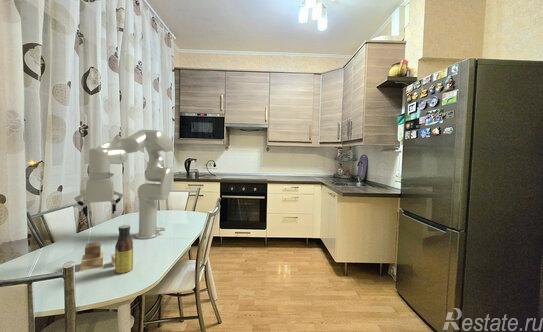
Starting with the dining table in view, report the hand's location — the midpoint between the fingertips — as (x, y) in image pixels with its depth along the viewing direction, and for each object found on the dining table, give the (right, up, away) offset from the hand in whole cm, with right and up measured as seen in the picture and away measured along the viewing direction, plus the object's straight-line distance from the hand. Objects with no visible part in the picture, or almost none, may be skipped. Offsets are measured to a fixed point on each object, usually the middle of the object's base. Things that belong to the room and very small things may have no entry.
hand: (100, 214), depth 103 cm
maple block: (+9, -21, -2) cm, 23 cm away
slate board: (+2, -22, -4) cm, 22 cm away
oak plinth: (0, -21, -5) cm, 21 cm away
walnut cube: (+1, -17, -5) cm, 18 cm away
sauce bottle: (+16, -23, -8) cm, 29 cm away
